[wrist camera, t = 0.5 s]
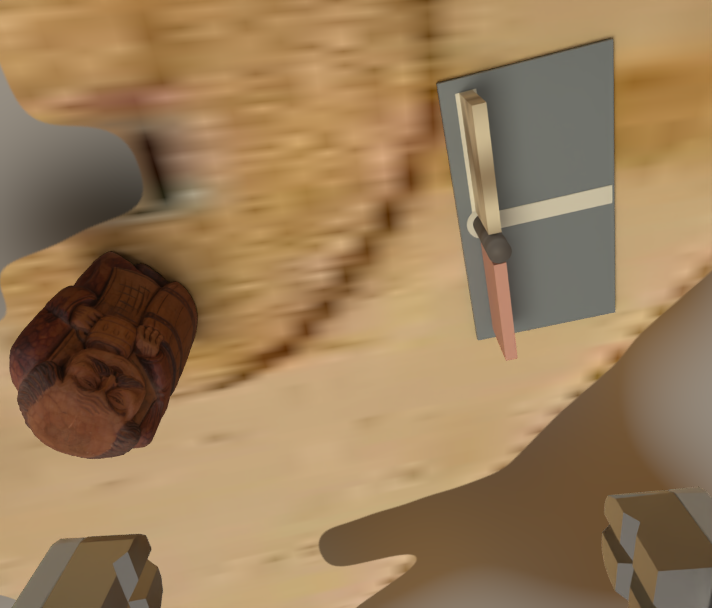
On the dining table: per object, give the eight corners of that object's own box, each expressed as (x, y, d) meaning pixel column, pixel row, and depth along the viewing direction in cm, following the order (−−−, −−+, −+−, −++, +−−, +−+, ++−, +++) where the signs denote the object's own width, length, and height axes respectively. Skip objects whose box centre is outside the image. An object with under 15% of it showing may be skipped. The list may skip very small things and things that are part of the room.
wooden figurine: (221, 306, 52) (168, 445, 36) (187, 350, 54) (124, 499, 39) (103, 235, 48) (-13, 357, 33) (72, 287, 51) (-48, 423, 35)
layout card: (436, 83, 42) (437, 84, 42) (610, 38, 41) (613, 39, 40) (476, 337, 54) (478, 340, 54) (612, 309, 53) (615, 312, 52)
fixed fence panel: (453, 94, 42) (468, 110, 37) (477, 88, 42) (495, 103, 37) (474, 234, 48) (489, 265, 43) (494, 230, 48) (513, 260, 43)
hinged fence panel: (480, 239, 48) (493, 265, 44) (491, 237, 48) (506, 262, 43) (492, 329, 53) (506, 360, 48) (503, 327, 52) (517, 358, 48)
